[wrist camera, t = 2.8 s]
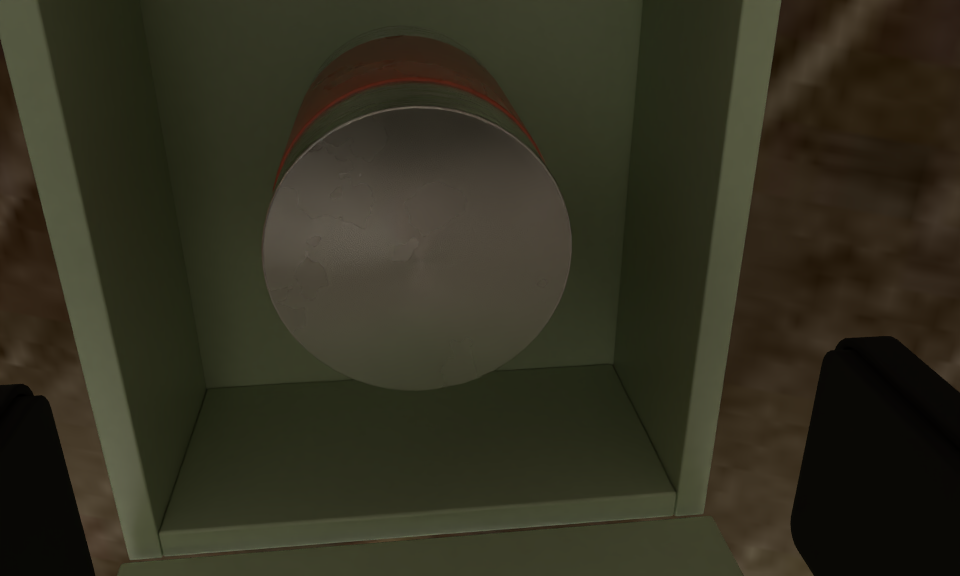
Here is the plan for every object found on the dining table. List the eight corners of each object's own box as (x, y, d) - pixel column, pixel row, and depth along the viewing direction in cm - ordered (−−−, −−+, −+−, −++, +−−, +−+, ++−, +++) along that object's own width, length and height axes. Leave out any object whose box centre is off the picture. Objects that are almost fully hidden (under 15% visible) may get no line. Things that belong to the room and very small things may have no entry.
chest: (89, -147, 20) (-52, -165, 13) (675, -145, 21) (806, -160, 15) (189, 396, 27) (128, 560, 20) (628, 369, 28) (704, 514, 22)
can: (289, 24, 21) (237, 107, 13) (507, 21, 22) (583, 98, 14) (310, 229, 24) (276, 403, 16) (504, 221, 24) (568, 384, 16)
